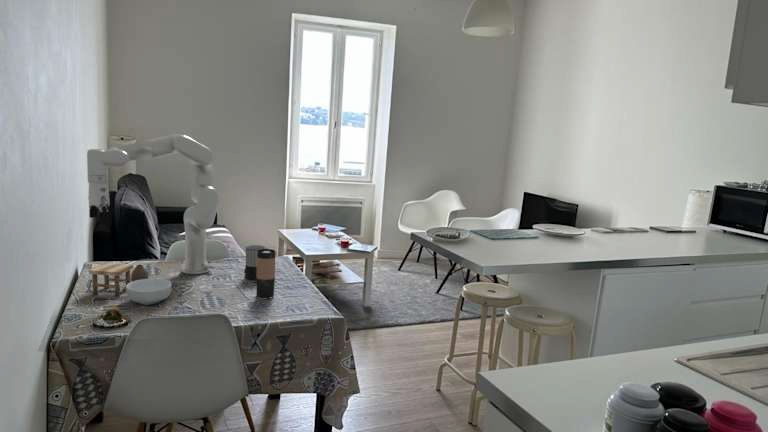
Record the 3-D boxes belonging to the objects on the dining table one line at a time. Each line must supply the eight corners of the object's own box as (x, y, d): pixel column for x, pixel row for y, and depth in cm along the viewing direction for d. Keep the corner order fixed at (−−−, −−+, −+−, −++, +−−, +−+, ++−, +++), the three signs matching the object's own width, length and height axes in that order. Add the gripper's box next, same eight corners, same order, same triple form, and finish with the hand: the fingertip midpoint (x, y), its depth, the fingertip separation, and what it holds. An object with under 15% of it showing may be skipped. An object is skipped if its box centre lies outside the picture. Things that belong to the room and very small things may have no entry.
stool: (133, 288, 229) (133, 264, 227) (119, 297, 217) (118, 272, 215) (105, 286, 229) (104, 262, 227) (89, 295, 217) (88, 270, 215)
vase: (151, 283, 238) (151, 263, 236) (143, 287, 231) (142, 267, 230) (136, 281, 238) (136, 262, 237) (127, 286, 232) (127, 266, 230)
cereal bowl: (126, 296, 219) (126, 279, 218) (170, 293, 226) (170, 277, 225) (125, 310, 204) (125, 292, 203) (172, 306, 211) (172, 289, 209)
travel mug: (277, 295, 232) (279, 250, 229) (268, 300, 225) (269, 254, 222) (262, 292, 234) (263, 248, 231) (252, 297, 227) (253, 251, 224)
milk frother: (254, 281, 250) (255, 250, 248) (230, 274, 258) (230, 244, 256) (275, 275, 262) (276, 245, 260) (252, 269, 270) (252, 240, 268)
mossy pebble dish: (85, 328, 186) (84, 307, 184) (108, 316, 197) (107, 297, 196) (116, 332, 184) (116, 311, 182) (137, 320, 195) (137, 300, 194)
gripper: (116, 181, 222) (116, 221, 225) (98, 176, 233) (99, 215, 236) (97, 181, 216) (98, 223, 219) (79, 176, 227) (80, 216, 230)
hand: (98, 219), depth 228 cm, fingers open, 9 cm apart
